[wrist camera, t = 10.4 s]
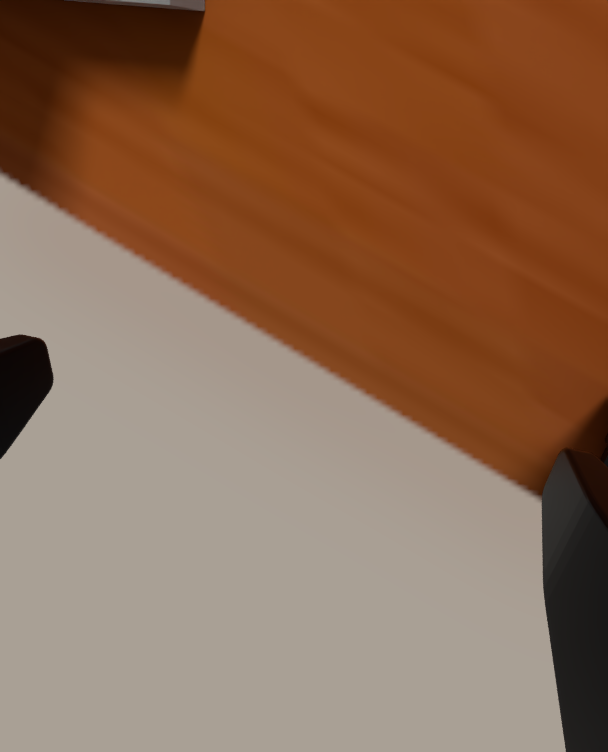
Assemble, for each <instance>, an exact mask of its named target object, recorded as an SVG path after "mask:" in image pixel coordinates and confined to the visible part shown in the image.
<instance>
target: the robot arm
mask: <svg viewBox="0 0 608 752" xmlns="http://www.w3.org/2000/svg"><path fill="white" fill-rule="evenodd" d="M52 385H53V372H52V368H51V363H50V359H49V354H48V349H47V346H46V344H45V342H44V341H43V340H42V339H40V338H36V337H31V336H26V335H15V336H11V337H7V338H2V339H0V459H1V458H2V457H3V455H4V454H5V453H6V452H7V450H8V449H9V448H10V446H11V445H12V444H13V442H14V441H15V439H16V438H17V437H18V435H19V434H20V432H21V431H22V430H23V428H24V427H25V425H26V424H27V422H28V421H29V420H30V418H31V417H32V415H33V414H34V413H35V411H36V410H37V408H38V407H39V406H40V404H41V403H42V401H43V400H44V398H45V397H46V396H47V394H48V393H49V391H50V390H51V387H52ZM605 442H606V444H607V448H606V450H605V452H604V454H603V456H602V458H601V460H600V459H599V458H598V457H597V456H595V455H594V454H593V453H590V452H586V451H581V450H576V449H571V448H565V449H563V450H562V451H561V452H560V453H559V455H558V457H557V459H556V461H555V464H554V466H553V468H552V470H551V473H550V475H549V477H548V480H547V482H546V484H545V487H544V490H543V495H542V543H543V544H542V545H543V588H544V598H545V607H546V614H547V621H548V628H549V635H550V642H551V649H552V656H553V663H554V670H555V677H556V684H557V691H558V699H559V705H560V713H561V720H562V727H563V734H564V740H565V748H566V752H608V434H607V436H606V438H605Z"/></svg>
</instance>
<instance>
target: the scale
mask: <svg viewBox="0 0 608 752" xmlns="http://www.w3.org/2000/svg"><path fill="white" fill-rule="evenodd" d="M66 1H78V2H91V3H104V4H117V5H130V6H142V7H155V8H168V9H181V10H194V11H205V0H66Z"/></svg>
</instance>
